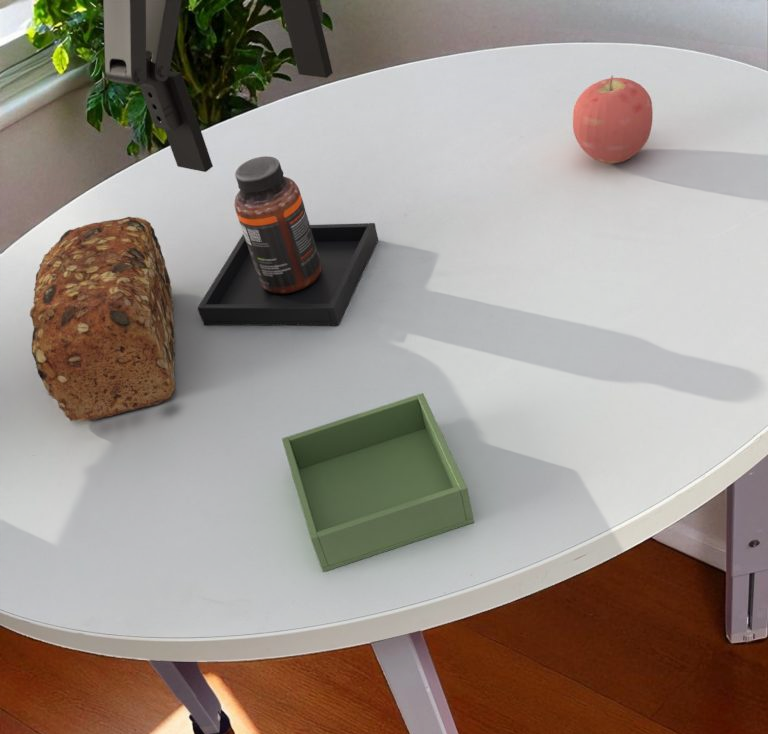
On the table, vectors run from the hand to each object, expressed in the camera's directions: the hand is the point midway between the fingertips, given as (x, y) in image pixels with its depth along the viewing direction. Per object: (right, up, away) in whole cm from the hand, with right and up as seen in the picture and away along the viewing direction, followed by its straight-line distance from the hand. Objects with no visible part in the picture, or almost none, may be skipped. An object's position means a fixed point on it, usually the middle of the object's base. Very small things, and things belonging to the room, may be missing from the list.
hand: (258, 118), depth 76 cm
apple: (+31, +6, +28) cm, 42 cm away
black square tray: (0, -7, +24) cm, 24 cm away
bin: (+9, -27, +2) cm, 28 cm away
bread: (-14, -14, +21) cm, 29 cm away
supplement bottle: (0, -6, +23) cm, 24 cm away
